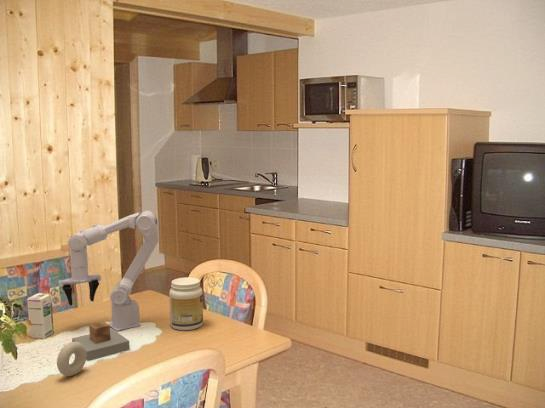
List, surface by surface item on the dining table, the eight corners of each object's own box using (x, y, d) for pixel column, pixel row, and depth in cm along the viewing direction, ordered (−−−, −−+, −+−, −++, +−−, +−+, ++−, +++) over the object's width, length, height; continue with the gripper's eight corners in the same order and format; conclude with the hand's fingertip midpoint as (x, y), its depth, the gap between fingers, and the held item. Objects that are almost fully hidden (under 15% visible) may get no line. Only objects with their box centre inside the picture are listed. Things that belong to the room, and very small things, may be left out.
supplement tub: (207, 328, 202) (207, 283, 199) (175, 333, 196) (174, 287, 194) (197, 317, 213) (196, 274, 210) (166, 322, 207) (165, 278, 205)
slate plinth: (112, 336, 193) (112, 328, 193) (129, 349, 182) (129, 340, 182) (72, 346, 185) (72, 338, 184) (87, 360, 174) (87, 351, 173)
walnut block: (104, 335, 187) (103, 321, 186) (110, 339, 183) (109, 325, 182) (90, 338, 184) (89, 324, 183) (95, 343, 180) (95, 328, 179)
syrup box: (44, 339, 191) (42, 298, 189) (29, 337, 193) (26, 297, 191) (54, 333, 197) (51, 293, 195) (39, 331, 198) (36, 292, 196)
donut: (81, 367, 169) (80, 335, 168) (89, 369, 168) (88, 338, 166) (55, 380, 160) (53, 347, 159) (63, 382, 159) (61, 349, 157)
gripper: (61, 271, 192) (63, 309, 194) (103, 265, 200) (104, 301, 202) (56, 267, 197) (58, 304, 199) (96, 261, 206) (98, 296, 208)
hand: (81, 302), depth 201 cm, fingers open, 7 cm apart
